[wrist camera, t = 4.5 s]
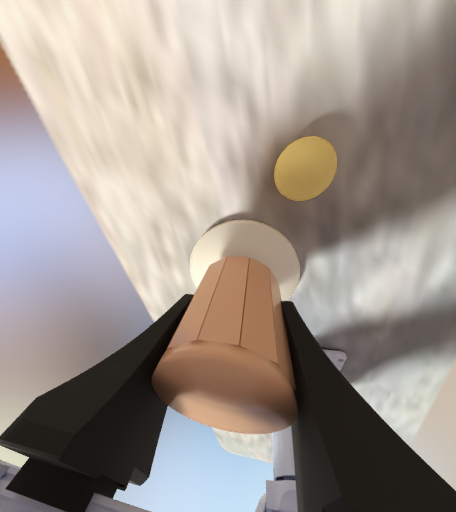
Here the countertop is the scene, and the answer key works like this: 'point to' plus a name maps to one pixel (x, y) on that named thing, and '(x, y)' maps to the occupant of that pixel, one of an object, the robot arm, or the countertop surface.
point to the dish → (248, 251)
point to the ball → (305, 168)
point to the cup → (231, 353)
